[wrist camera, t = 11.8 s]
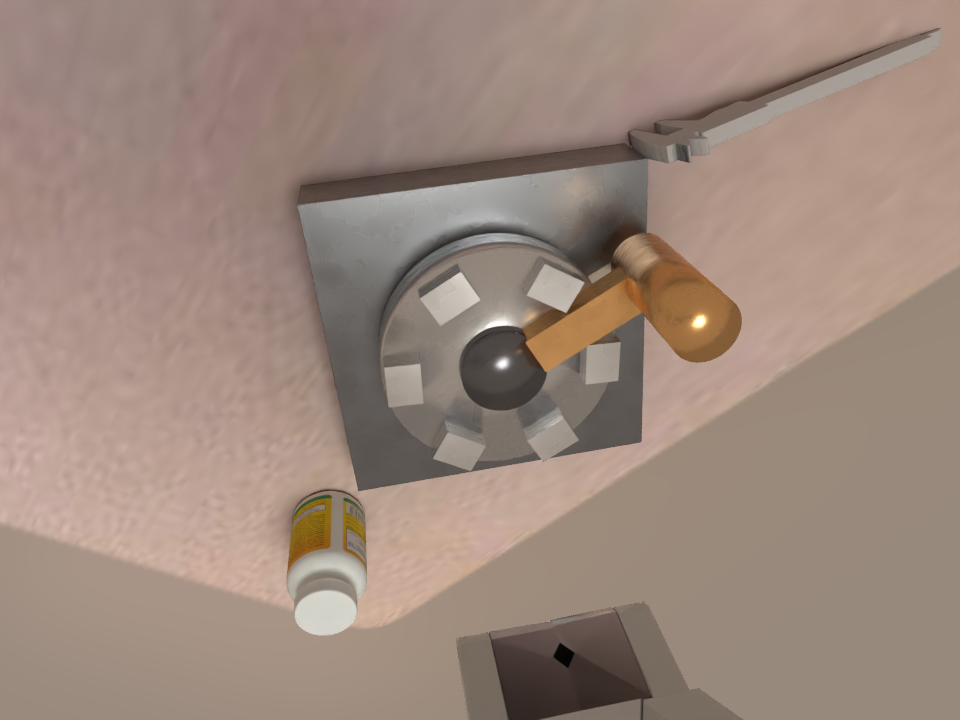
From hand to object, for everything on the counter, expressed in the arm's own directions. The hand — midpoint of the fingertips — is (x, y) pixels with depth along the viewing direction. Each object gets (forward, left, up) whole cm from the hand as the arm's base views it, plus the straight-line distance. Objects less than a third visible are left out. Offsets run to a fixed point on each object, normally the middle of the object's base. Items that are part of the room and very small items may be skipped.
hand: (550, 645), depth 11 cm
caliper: (+24, 0, -38) cm, 45 cm away
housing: (+4, -12, -37) cm, 39 cm away
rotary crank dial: (+6, -11, -33) cm, 35 cm away
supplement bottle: (-9, -27, -37) cm, 47 cm away
